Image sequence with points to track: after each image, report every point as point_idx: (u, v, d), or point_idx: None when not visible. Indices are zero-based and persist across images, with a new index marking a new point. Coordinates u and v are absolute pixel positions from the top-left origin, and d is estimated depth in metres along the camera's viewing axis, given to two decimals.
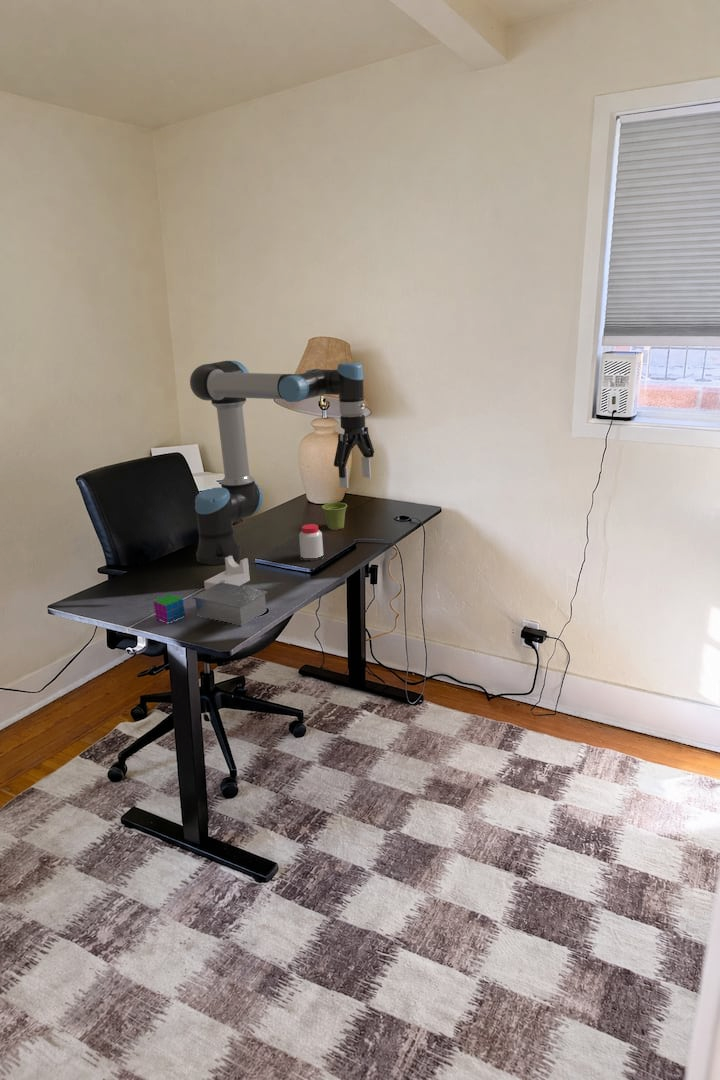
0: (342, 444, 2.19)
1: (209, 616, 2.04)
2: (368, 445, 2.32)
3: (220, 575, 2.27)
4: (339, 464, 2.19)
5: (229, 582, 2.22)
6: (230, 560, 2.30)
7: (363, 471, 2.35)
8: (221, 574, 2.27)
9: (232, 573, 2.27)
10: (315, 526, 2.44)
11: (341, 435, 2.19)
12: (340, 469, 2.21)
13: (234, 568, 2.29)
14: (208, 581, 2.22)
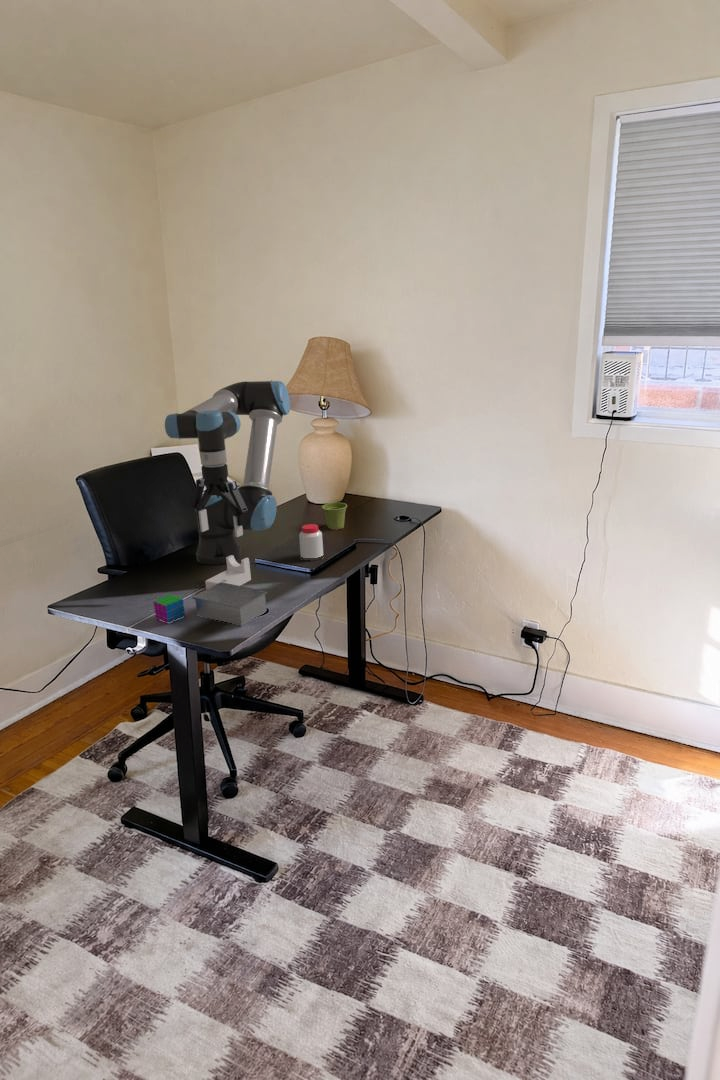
0: None
1: (209, 616, 2.04)
2: None
3: (221, 574, 2.27)
4: None
5: (230, 581, 2.22)
6: (231, 559, 2.31)
7: None
8: (222, 573, 2.28)
9: (233, 573, 2.28)
10: (315, 526, 2.44)
11: None
12: None
13: (235, 568, 2.29)
14: (209, 580, 2.23)
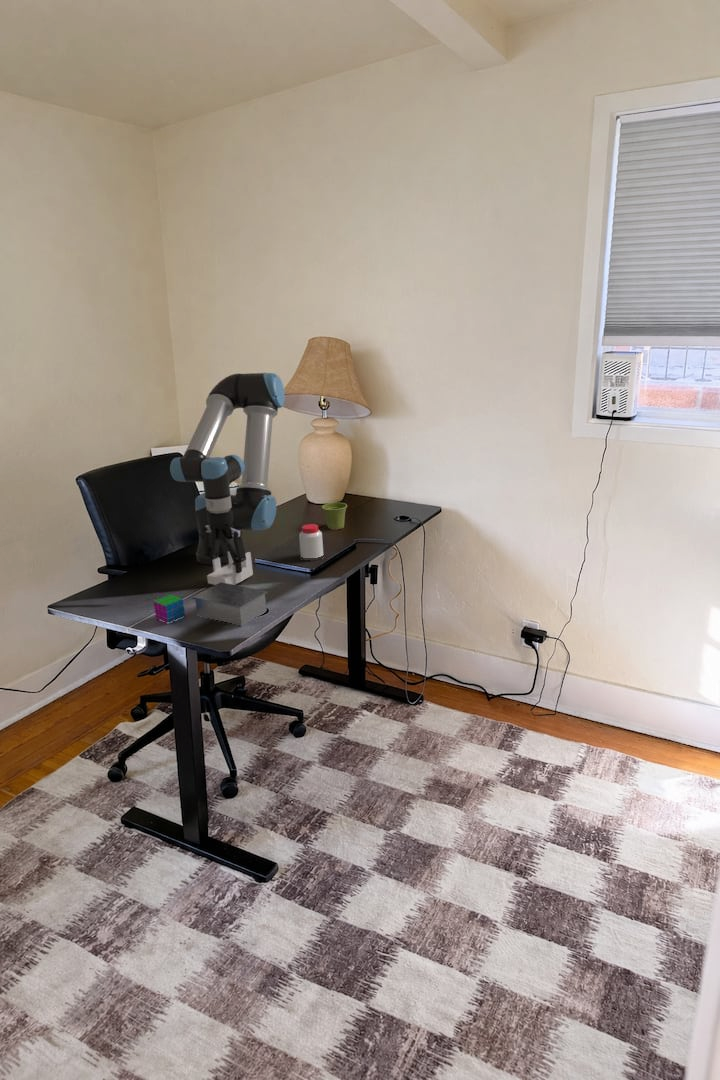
0: None
1: (209, 616, 2.04)
2: None
3: (223, 568, 2.28)
4: None
5: (232, 576, 2.23)
6: None
7: None
8: (224, 568, 2.28)
9: None
10: (315, 526, 2.44)
11: None
12: None
13: None
14: (211, 575, 2.23)
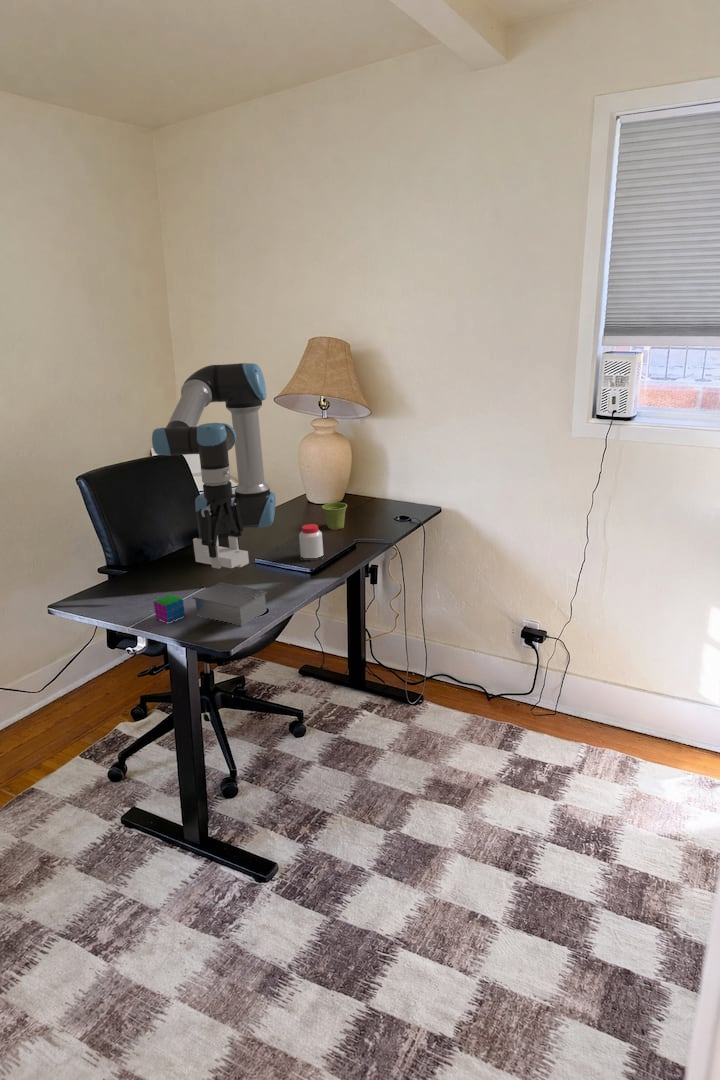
0: (205, 521, 1.92)
1: (209, 616, 2.04)
2: (237, 520, 2.03)
3: None
4: (207, 544, 1.93)
5: None
6: None
7: None
8: None
9: None
10: (315, 526, 2.44)
11: (202, 512, 1.91)
12: (210, 548, 1.96)
13: None
14: (232, 557, 1.97)
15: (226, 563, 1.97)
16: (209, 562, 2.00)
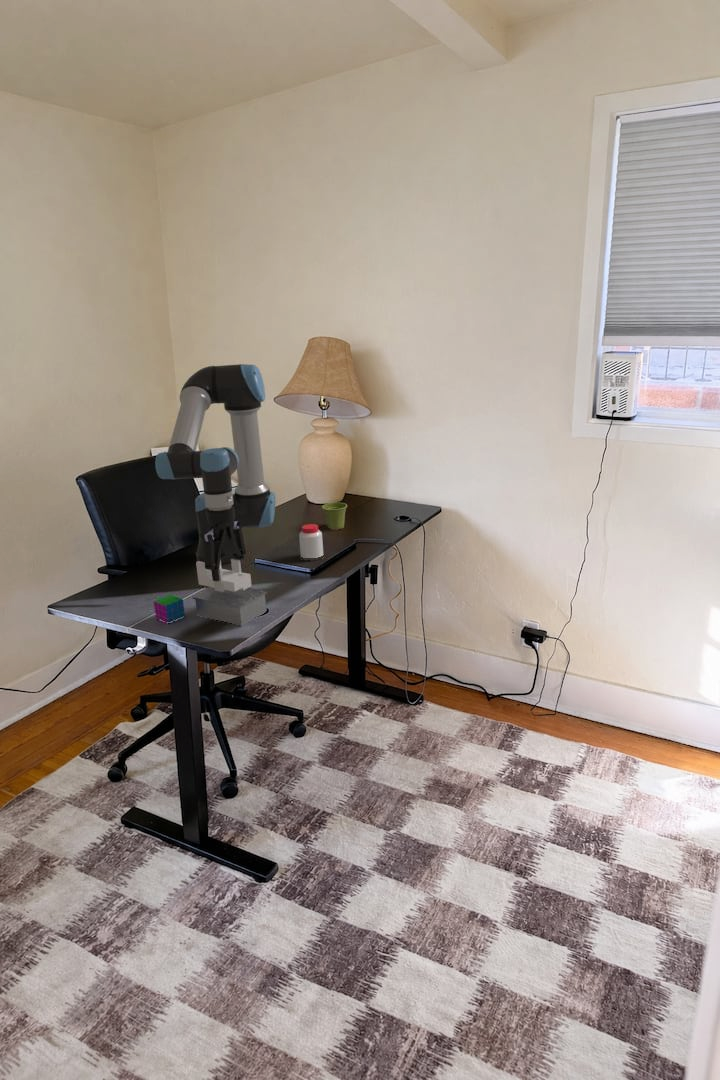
0: (209, 546, 1.94)
1: (209, 616, 2.04)
2: (239, 543, 2.05)
3: None
4: (210, 568, 1.95)
5: None
6: None
7: None
8: None
9: None
10: (315, 526, 2.44)
11: (205, 536, 1.93)
12: (213, 572, 1.97)
13: None
14: (235, 580, 1.99)
15: (229, 587, 1.99)
16: (212, 585, 2.02)
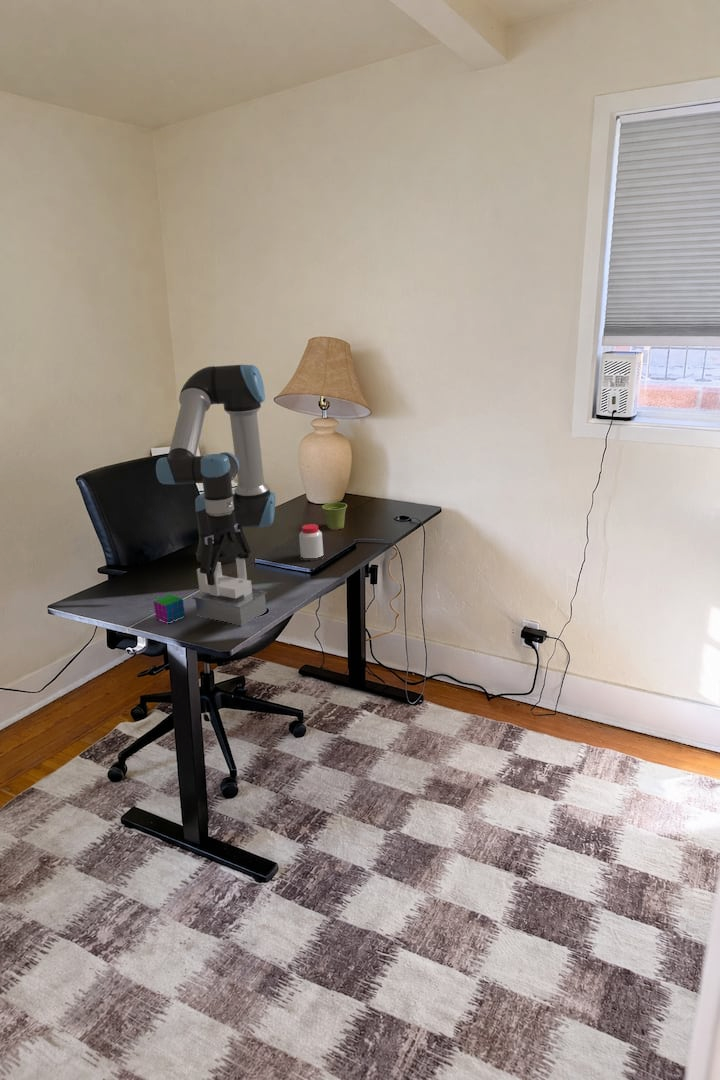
0: (207, 549, 1.94)
1: (209, 616, 2.04)
2: (243, 544, 2.06)
3: (219, 584, 2.02)
4: (205, 572, 1.94)
5: None
6: None
7: (238, 573, 2.08)
8: (218, 584, 2.02)
9: (220, 579, 2.06)
10: (315, 526, 2.44)
11: (205, 539, 1.93)
12: (208, 576, 1.96)
13: None
14: (236, 587, 2.00)
15: (230, 594, 2.00)
16: None
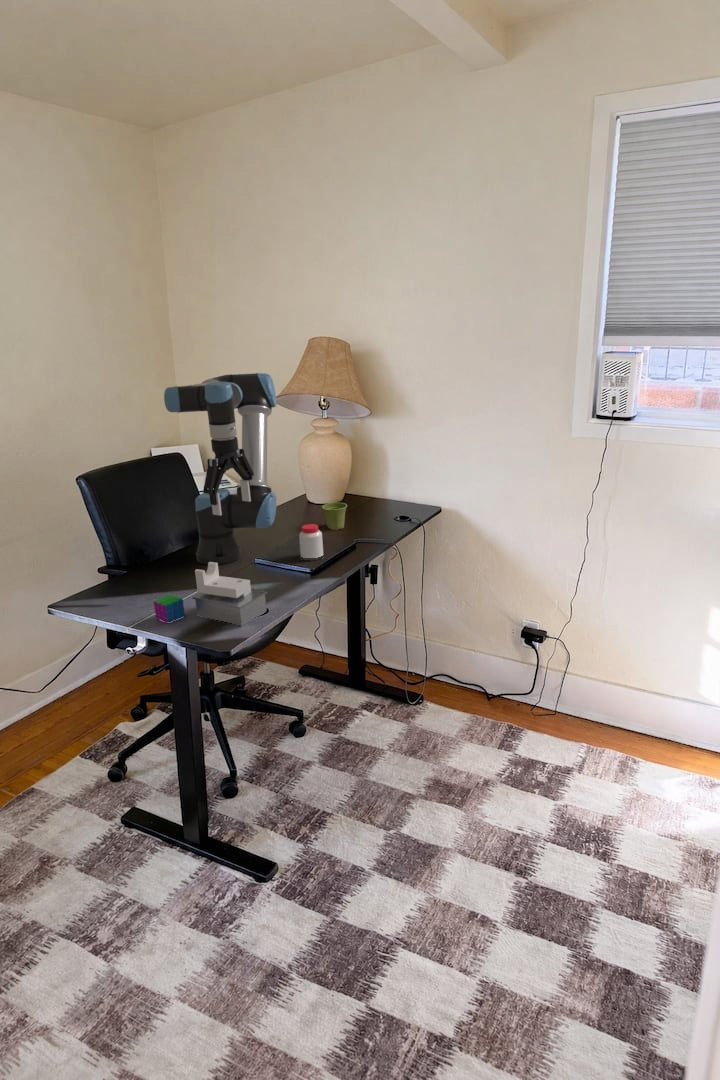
0: (211, 470, 2.06)
1: (209, 616, 2.04)
2: (246, 467, 2.19)
3: (219, 585, 2.02)
4: (208, 491, 2.06)
5: None
6: None
7: (242, 494, 2.22)
8: (217, 584, 2.02)
9: (218, 580, 2.05)
10: (315, 526, 2.44)
11: (210, 460, 2.06)
12: (211, 496, 2.08)
13: (211, 576, 2.05)
14: (236, 587, 2.00)
15: (230, 593, 2.00)
16: (212, 592, 2.02)
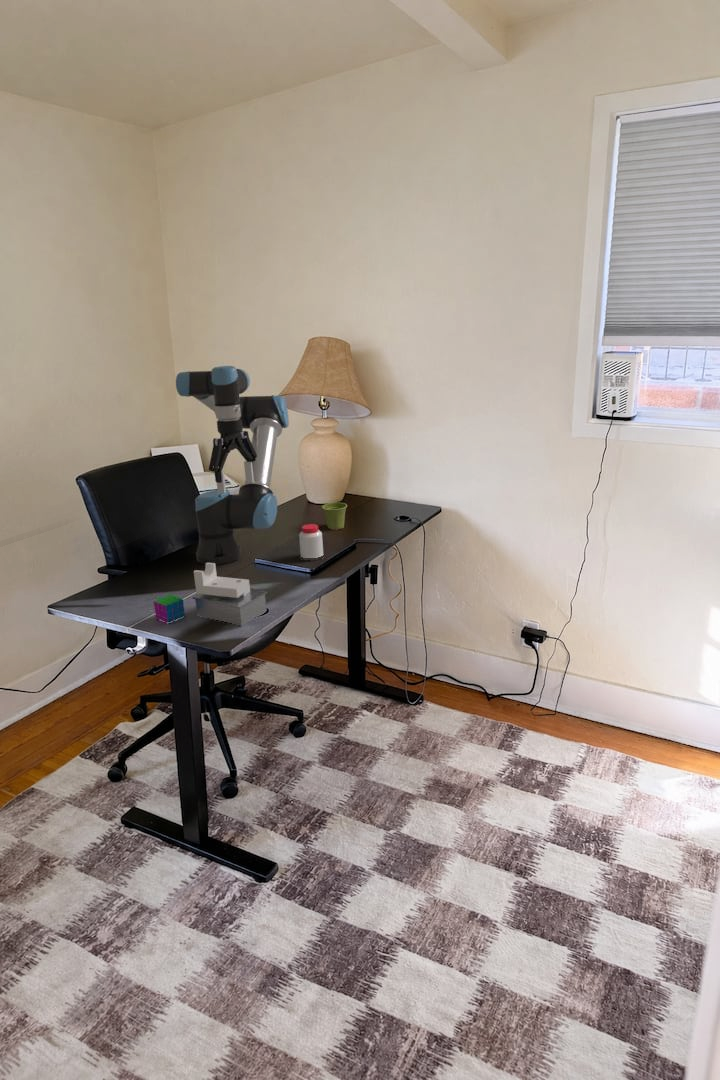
0: (217, 449, 2.17)
1: (209, 616, 2.04)
2: (250, 449, 2.30)
3: (218, 585, 2.02)
4: (213, 469, 2.16)
5: None
6: None
7: (246, 475, 2.33)
8: (216, 585, 2.02)
9: (216, 580, 2.05)
10: (315, 526, 2.44)
11: (216, 439, 2.17)
12: (216, 474, 2.19)
13: (209, 577, 2.05)
14: (236, 587, 2.00)
15: (231, 593, 2.00)
16: (212, 593, 2.02)
